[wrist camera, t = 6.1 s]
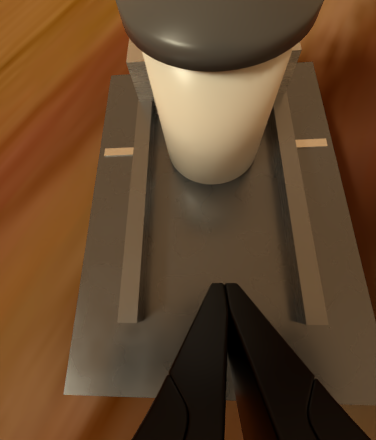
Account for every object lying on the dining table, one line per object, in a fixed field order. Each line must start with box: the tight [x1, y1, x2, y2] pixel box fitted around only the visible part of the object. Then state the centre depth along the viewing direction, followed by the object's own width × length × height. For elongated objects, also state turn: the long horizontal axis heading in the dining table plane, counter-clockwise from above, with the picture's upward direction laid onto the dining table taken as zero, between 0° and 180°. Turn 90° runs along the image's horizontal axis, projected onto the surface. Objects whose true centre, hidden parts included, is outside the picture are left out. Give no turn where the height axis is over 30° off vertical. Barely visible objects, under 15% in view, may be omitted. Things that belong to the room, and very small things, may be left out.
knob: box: [116, 0, 324, 184], centre depth 11 cm, size 7×7×9 cm
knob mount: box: [64, 38, 376, 405], centre depth 13 cm, size 22×16×6 cm
